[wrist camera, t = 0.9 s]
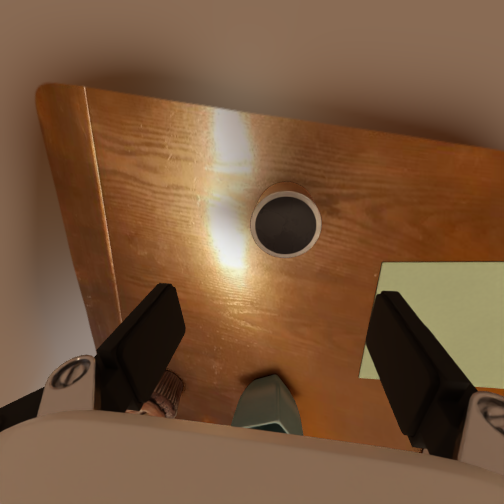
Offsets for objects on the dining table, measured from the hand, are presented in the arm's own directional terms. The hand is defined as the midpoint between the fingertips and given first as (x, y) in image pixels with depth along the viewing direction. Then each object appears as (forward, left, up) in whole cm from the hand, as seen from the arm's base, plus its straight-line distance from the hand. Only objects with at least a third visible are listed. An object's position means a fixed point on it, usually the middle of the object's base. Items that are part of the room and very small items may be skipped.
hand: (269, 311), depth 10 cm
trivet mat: (+18, +24, -18) cm, 35 cm away
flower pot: (+33, -2, -18) cm, 38 cm away
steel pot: (0, +1, -18) cm, 18 cm away
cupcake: (+35, -24, -18) cm, 46 cm away
